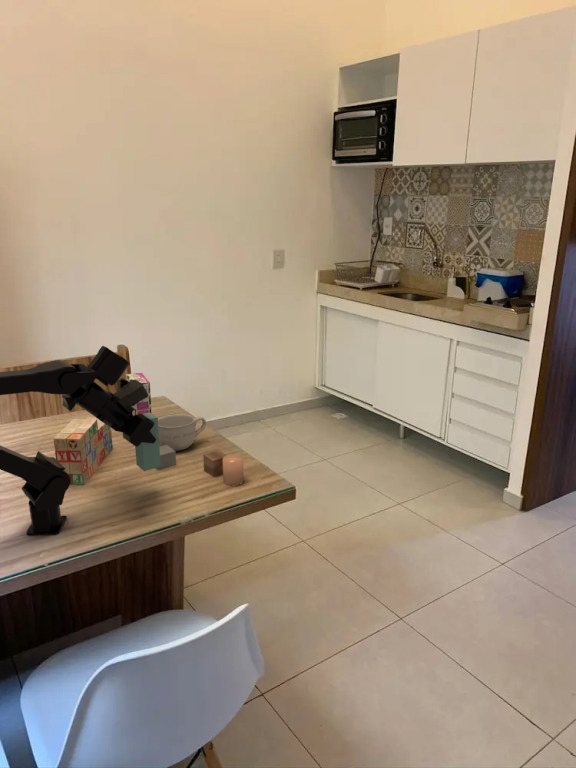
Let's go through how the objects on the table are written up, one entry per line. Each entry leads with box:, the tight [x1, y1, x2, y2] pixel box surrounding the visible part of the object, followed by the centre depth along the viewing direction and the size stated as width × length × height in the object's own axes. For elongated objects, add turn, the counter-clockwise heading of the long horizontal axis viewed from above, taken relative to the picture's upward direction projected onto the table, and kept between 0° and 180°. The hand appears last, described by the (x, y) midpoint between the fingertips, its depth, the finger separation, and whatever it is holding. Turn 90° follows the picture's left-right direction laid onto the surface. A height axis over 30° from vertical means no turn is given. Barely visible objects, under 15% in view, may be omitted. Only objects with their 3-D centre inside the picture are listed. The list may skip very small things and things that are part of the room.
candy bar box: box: [125, 372, 152, 416], centre depth 167 cm, size 11×5×16 cm, turn 25°
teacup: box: [158, 413, 207, 452], centre depth 159 cm, size 14×11×8 cm
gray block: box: [155, 445, 177, 471], centre depth 149 cm, size 5×5×4 cm
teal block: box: [134, 412, 161, 472], centre depth 131 cm, size 4×4×12 cm
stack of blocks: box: [53, 416, 114, 486], centre depth 146 cm, size 21×6×12 cm, turn 178°
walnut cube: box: [202, 449, 227, 478], centre depth 145 cm, size 4×4×4 cm
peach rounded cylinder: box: [222, 453, 245, 486], centre depth 140 cm, size 5×5×6 cm
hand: (150, 438), depth 131 cm, fingers closed on teal block, 4 cm apart
